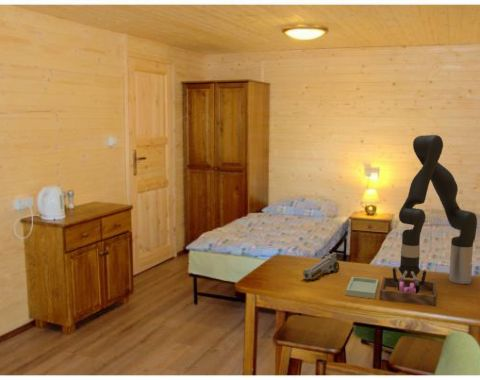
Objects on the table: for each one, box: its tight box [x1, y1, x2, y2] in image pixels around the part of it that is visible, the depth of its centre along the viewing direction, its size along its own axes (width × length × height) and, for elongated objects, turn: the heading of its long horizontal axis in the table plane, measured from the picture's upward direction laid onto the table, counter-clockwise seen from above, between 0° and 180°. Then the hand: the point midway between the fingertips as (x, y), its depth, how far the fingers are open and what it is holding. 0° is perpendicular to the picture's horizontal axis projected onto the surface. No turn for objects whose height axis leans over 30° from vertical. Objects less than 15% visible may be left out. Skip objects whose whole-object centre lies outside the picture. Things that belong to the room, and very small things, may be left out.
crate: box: [379, 276, 437, 307], centre depth 220 cm, size 22×19×4 cm
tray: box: [345, 276, 380, 300], centre depth 227 cm, size 12×19×2 cm, turn 160°
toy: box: [302, 251, 340, 281], centre depth 246 cm, size 6×24×10 cm, turn 136°
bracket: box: [398, 281, 416, 293], centre depth 220 cm, size 13×6×7 cm, turn 153°
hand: (408, 292), depth 220 cm, fingers closed on bracket, 6 cm apart
